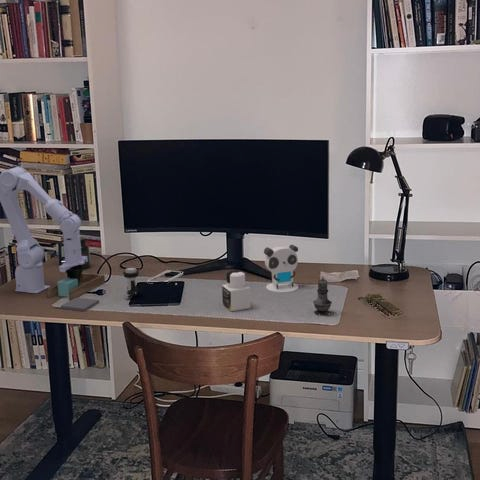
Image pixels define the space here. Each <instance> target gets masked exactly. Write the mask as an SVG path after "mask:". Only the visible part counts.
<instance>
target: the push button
mask: <svg viewBox="0 0 480 480" xmlns="http://www.w3.org/2000/svg"><path fill="white" fill-rule="evenodd" d="M139 273H140V270H138V269H137V268H136V267H127V268H125V270H124V271H122V274H123V277H124V278H125V279H126V280H127V287H126V288H127V290H126V291H125V293H126V295H125V297H126V298H125V300H128V299H129V300H132V299H131V297H132V296H133V295H134V293H135V294H136V293H137V292H138V291H139V292H140V290H139V288H138V287H137V285H136V282H137V281H136V278H137V277H138V276H139Z"/></svg>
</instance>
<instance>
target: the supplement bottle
mask: <svg viewBox="0 0 480 480" xmlns="http://www.w3.org/2000/svg"><path fill="white" fill-rule="evenodd" d="M80 243H81V256H87V258H88V262H85V263H84V264H82V265H83V266H84V269H83V270H87V269H89V268H91V253H90V247H89V245H88V243H87V238H86V237H82V236H80Z"/></svg>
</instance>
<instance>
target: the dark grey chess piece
mask: <svg viewBox="0 0 480 480" xmlns="http://www.w3.org/2000/svg"><path fill="white" fill-rule="evenodd" d="M316 292H317V298H316V299H315V300H313V305H314V308H315V309H316V310H315V311H313V314H314V313H315V314H314V315H316V314H318V315H317V316H319V314H320V315H327V316H329V315H328V314H329V313H331V311H330V309H331V305H332V303H333V302H332V300H330V299H329V298H328V292H329V289H328V281H327V280H326V279H325V278H324V276H322V277H321V279H319V280H318V281H317V289H316ZM331 314H332V313H331Z"/></svg>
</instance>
